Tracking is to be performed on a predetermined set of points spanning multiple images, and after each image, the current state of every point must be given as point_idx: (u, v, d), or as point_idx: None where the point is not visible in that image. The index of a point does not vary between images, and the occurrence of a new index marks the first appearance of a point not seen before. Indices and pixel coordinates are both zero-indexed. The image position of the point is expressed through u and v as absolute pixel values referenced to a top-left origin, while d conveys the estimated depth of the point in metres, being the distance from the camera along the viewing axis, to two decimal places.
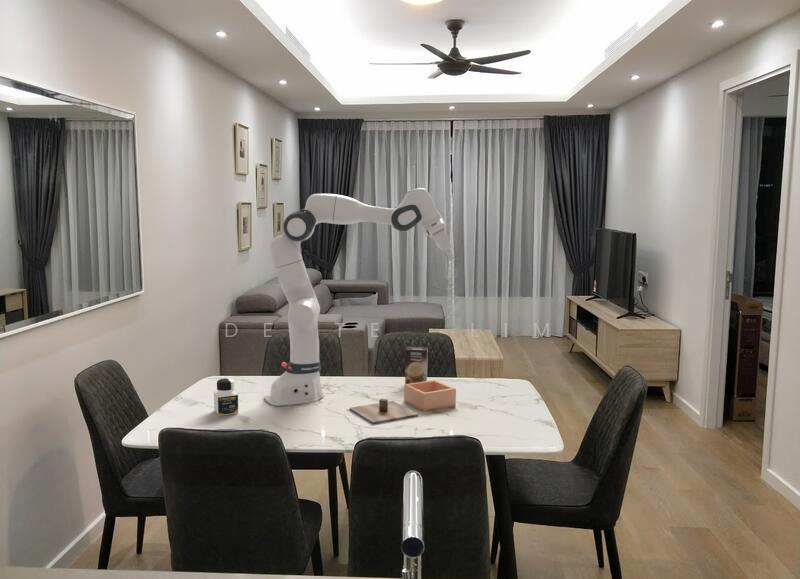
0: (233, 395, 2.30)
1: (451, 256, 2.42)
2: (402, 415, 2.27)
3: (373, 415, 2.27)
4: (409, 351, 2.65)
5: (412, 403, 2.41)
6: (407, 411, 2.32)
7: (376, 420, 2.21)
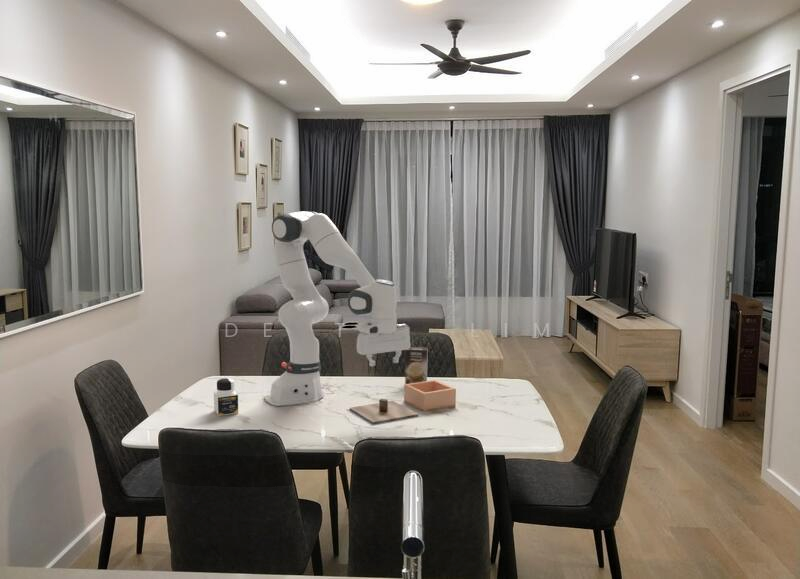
0: (233, 395, 2.30)
1: (370, 362, 2.26)
2: (402, 415, 2.27)
3: (373, 415, 2.27)
4: (409, 351, 2.65)
5: (412, 403, 2.41)
6: (407, 411, 2.32)
7: (376, 420, 2.21)
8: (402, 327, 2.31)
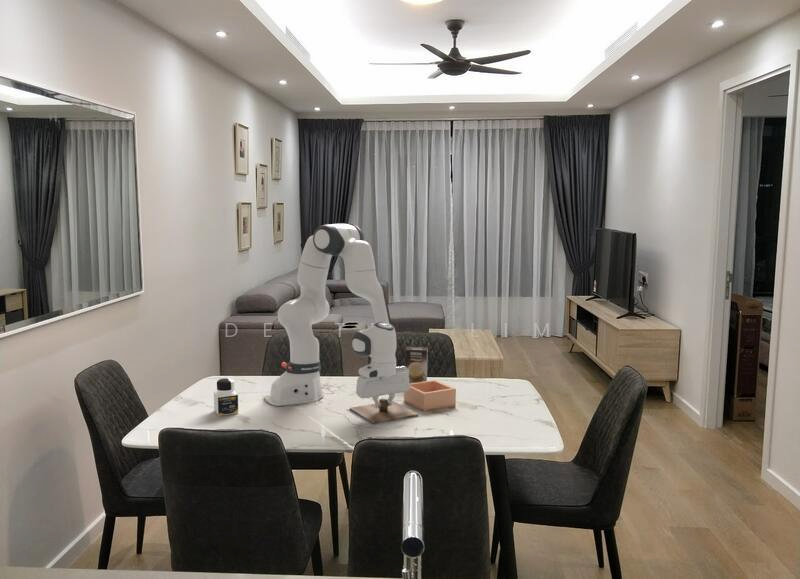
0: (233, 395, 2.30)
1: (376, 404, 2.30)
2: (402, 415, 2.27)
3: (373, 415, 2.27)
4: (409, 351, 2.65)
5: (412, 403, 2.41)
6: (407, 411, 2.32)
7: (376, 420, 2.21)
8: (401, 369, 2.33)
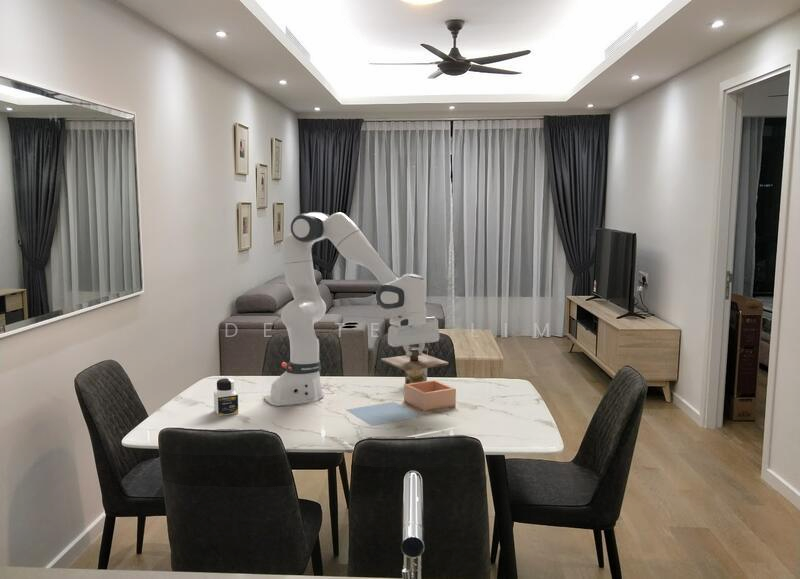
0: (233, 395, 2.30)
1: (407, 353, 2.35)
2: (433, 363, 2.32)
3: (404, 363, 2.32)
4: None
5: (412, 403, 2.41)
6: (437, 360, 2.37)
7: (408, 367, 2.26)
8: (431, 320, 2.38)
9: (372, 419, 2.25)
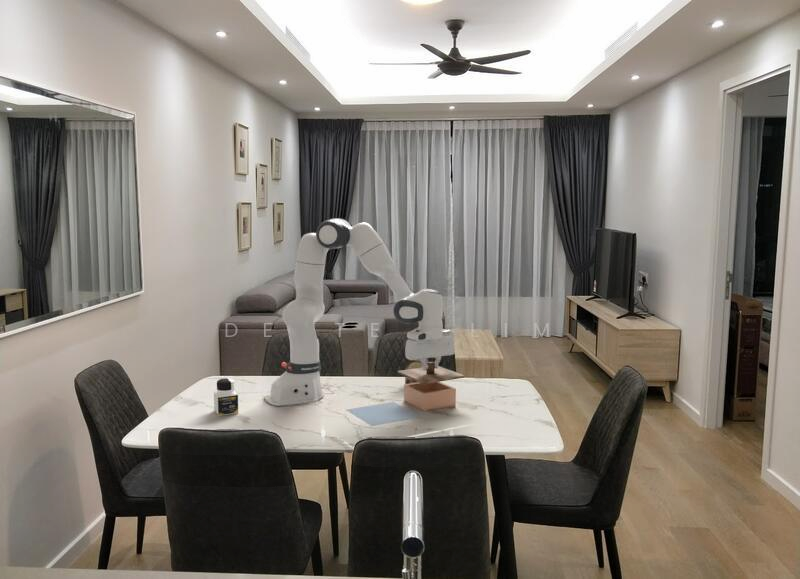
0: (233, 395, 2.30)
1: (424, 366, 2.41)
2: (449, 376, 2.38)
3: (422, 376, 2.37)
4: None
5: (412, 403, 2.41)
6: (453, 373, 2.43)
7: (426, 380, 2.32)
8: (447, 333, 2.44)
9: (372, 419, 2.25)
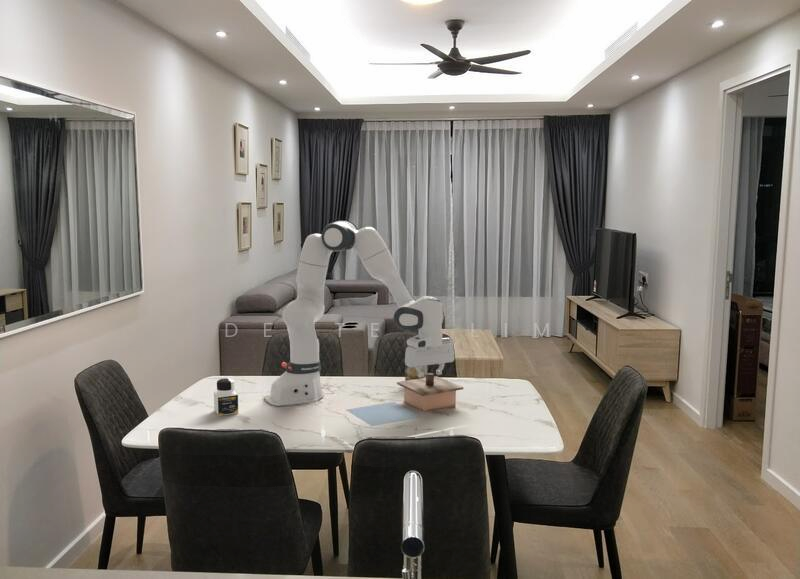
0: (233, 395, 2.30)
1: (419, 374, 2.40)
2: (448, 388, 2.38)
3: (421, 388, 2.38)
4: None
5: (412, 403, 2.41)
6: (452, 384, 2.43)
7: (425, 392, 2.33)
8: (447, 341, 2.45)
9: (372, 419, 2.25)
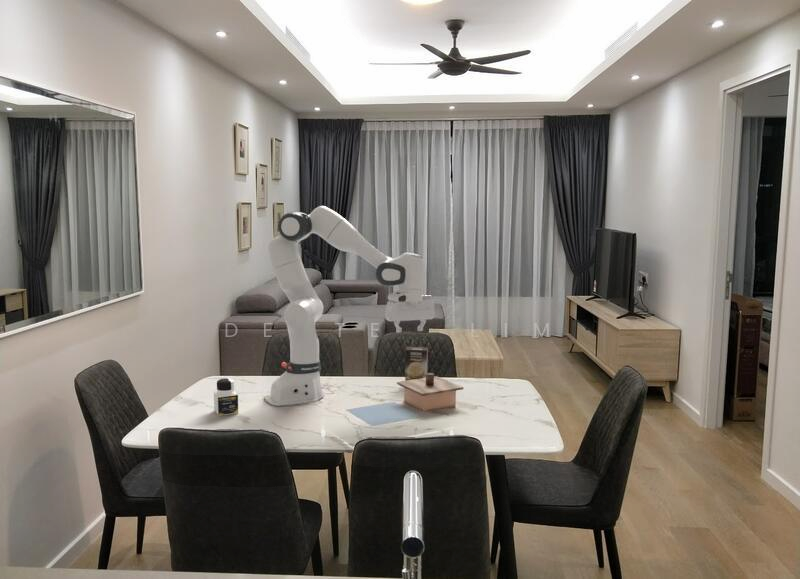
0: (233, 395, 2.30)
1: (397, 329, 2.44)
2: (448, 388, 2.38)
3: (421, 388, 2.38)
4: (409, 351, 2.65)
5: (412, 403, 2.41)
6: (452, 384, 2.43)
7: (425, 392, 2.33)
8: (428, 298, 2.49)
9: (372, 419, 2.25)
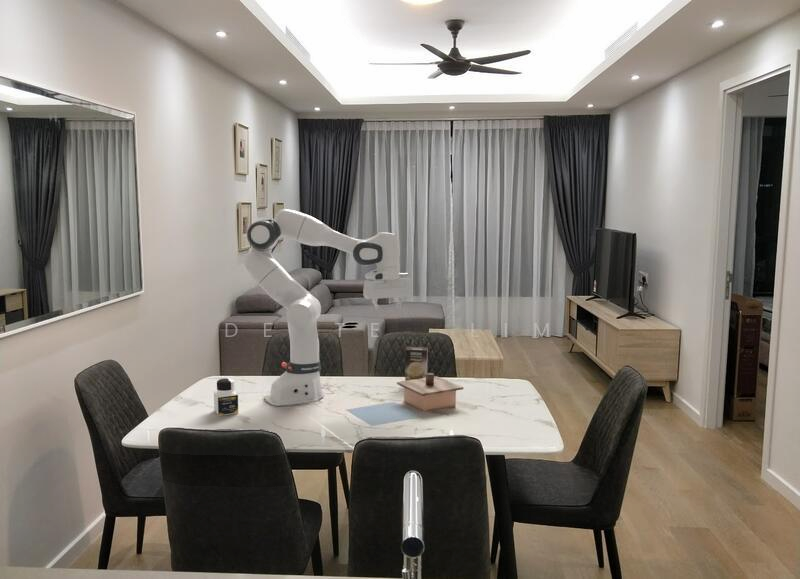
0: (233, 395, 2.30)
1: (376, 306, 2.50)
2: (448, 388, 2.38)
3: (421, 388, 2.38)
4: (409, 351, 2.65)
5: (412, 403, 2.41)
6: (452, 384, 2.43)
7: (425, 392, 2.33)
8: (404, 276, 2.55)
9: (372, 419, 2.25)
